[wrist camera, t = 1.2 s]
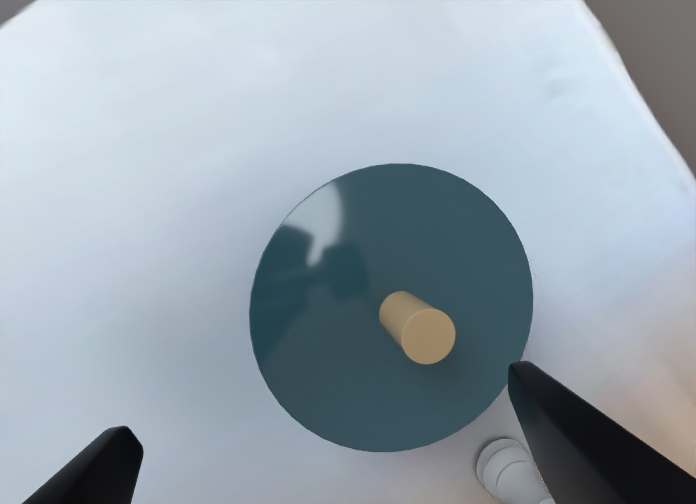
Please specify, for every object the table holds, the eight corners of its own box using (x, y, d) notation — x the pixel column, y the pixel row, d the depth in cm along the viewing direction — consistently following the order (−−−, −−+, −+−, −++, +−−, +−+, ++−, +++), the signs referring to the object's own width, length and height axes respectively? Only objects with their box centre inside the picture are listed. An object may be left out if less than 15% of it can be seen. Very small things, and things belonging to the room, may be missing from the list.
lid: (537, 395, 24) (606, 445, 19) (289, 475, 21) (290, 557, 16) (499, 141, 21) (566, 118, 16) (217, 199, 19) (192, 192, 14)
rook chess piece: (531, 442, 29) (622, 525, 21) (511, 492, 29) (593, 593, 21) (485, 428, 28) (562, 510, 20) (464, 480, 28) (532, 581, 21)
